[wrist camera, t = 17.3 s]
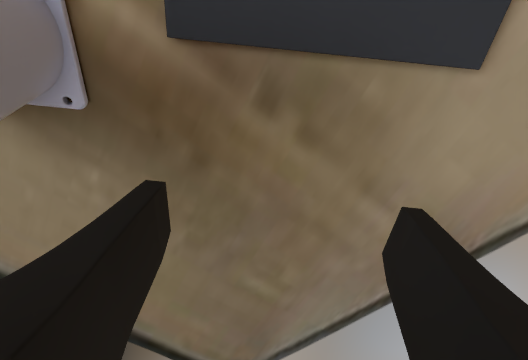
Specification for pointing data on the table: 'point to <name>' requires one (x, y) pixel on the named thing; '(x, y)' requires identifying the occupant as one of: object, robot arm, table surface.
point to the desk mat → (348, 27)
